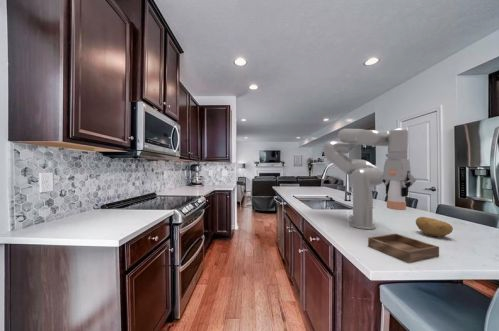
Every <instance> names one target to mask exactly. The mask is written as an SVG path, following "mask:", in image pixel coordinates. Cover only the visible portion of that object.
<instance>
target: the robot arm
mask: <svg viewBox="0 0 499 331" xmlns="http://www.w3.org/2000/svg"><path fill="white" fill-rule="evenodd" d="M337 139H338V140H328V141H327V142H325V143H324V145H323V147H322V148H323V154H324V156H325V158H326V159H327V160H328V161H329V162H330V163H331V164H333V165H334V166H336V167H337V169H339V170H340V171H342V172H343V173H344V174H345V175H347V176H350V181H351V185H352V215H351V214H350V216H348V220H350V222H349V226H351V228H352V227H353V228H356V229H360V230H361V229H362V230H375V229H376V227H377V226H376V224H374V223H373V222H374V221H373V205H374V204H373V200H374V199H373V191H372V189H371V187H370V186H380V185H382V184H384V186H385V194H386V195H388V190H389V185H390V181H391V180H394V181H401V183H402V186H403V187H402V190H401V196H402V197H405V198H406V197H408V196H409V188H410V187H412V186H413V184H414V183H415V182H416V181H417V179H416V177H414V176H413V175H412V172H411V163H410V159H409V158H408V156H409V155H408V154H409V152H408V151H409V150H408V149H409V147H408V146H409V130H408V129H407V128H393V129H390V130H378V129H362V128H343V129H341V130H339V132H338V133H337ZM358 145H361V146H362V145H363V146H369V147H370V146H371V147H387V153H386V154H385V157H386V159H385V161H384V164H383V171H382V170H381V168H379V167H377V166H376V165H374V164H372V163H371V162H370V161H367V160H365V159H359V158H358V159H355V158H354V159H353V158H351V157H349V156H347V155H346V154H349V153H351V152H352V151H353V150H354V149H355V148H356V147H357V146H358ZM390 170H396V171H397V174H396V175H394V176H393V175H389V173H388V172H389V171H390Z"/></svg>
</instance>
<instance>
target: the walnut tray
mask: <svg viewBox="0 0 499 331" xmlns="http://www.w3.org/2000/svg"><path fill="white" fill-rule="evenodd" d="M367 239H368V240H367V244H368V245H367V246H368V247H369V248H372V249H374V250H376V251H378V252H382V253H384V254H385V255H389V256H391V257H393V258H396V259H398V260H401V261H403V262H406V263H408V264H410V263H415V262H420V261H424V260H428V259H433V258H437V257H440V246H438V245H434V244H431V243H428V242H425V241H421V240H418V239H415V238H412V237H409V236H405V235H401V234H398V233H391V234H384V235H383V234H382V235H377V236H372V237H368V238H367Z"/></svg>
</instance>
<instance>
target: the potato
mask: <svg viewBox="0 0 499 331" xmlns="http://www.w3.org/2000/svg"><path fill="white" fill-rule="evenodd" d="M415 225H416V226H417V228H418V230H420V231H421V232H423V233H424V234H426V235H428V236H431V237H441V238H442V237H446V236H448V235H450V234H451V233H452V232H453V226H452V225H451V224H450V223H448V222H446V221H443V220H439V219H436V218H430V217H425V216H419V217H417V218H416V219H415Z"/></svg>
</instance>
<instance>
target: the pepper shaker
mask: <svg viewBox="0 0 499 331" xmlns="http://www.w3.org/2000/svg"><path fill="white" fill-rule="evenodd" d="M388 173H389V175H393V176H394V175H396V174H397V171H396V170H390V171H389V172H388ZM402 187H403V186H402V183H401V181H394V180H391V181H390V185H389V190H388V194H387V199H386V208H387V209H389V210H395V211H406V210H407V201H406V197H402V196H401V190H402Z"/></svg>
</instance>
